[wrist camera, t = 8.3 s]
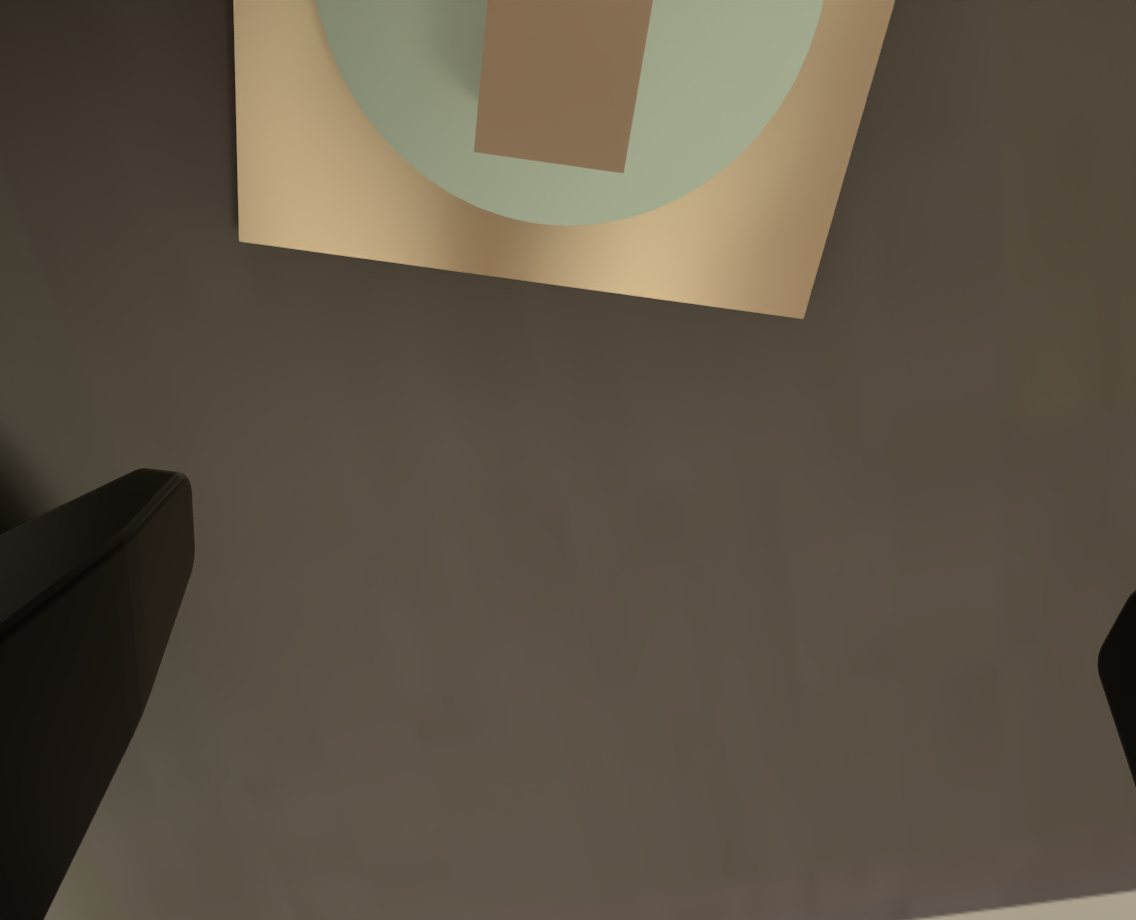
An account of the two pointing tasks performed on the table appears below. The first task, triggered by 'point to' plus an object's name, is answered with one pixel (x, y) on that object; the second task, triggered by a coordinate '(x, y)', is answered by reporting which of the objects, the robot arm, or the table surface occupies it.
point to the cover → (569, 94)
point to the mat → (540, 251)
